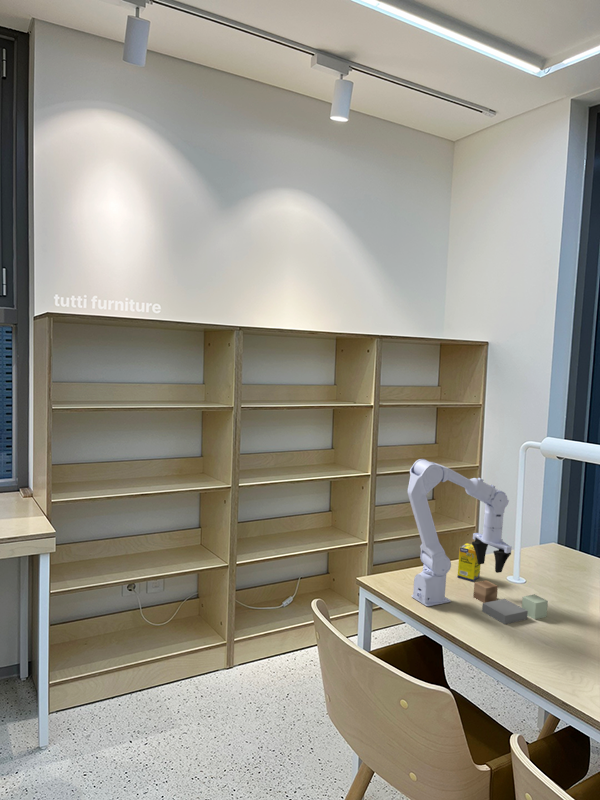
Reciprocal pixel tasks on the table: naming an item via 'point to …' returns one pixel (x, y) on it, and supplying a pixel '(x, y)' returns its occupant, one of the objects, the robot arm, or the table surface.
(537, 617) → the sage green cube
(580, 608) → the table surface
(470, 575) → the supplement box
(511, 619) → the charcoal base block
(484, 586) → the walnut cube
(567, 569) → the table surface
